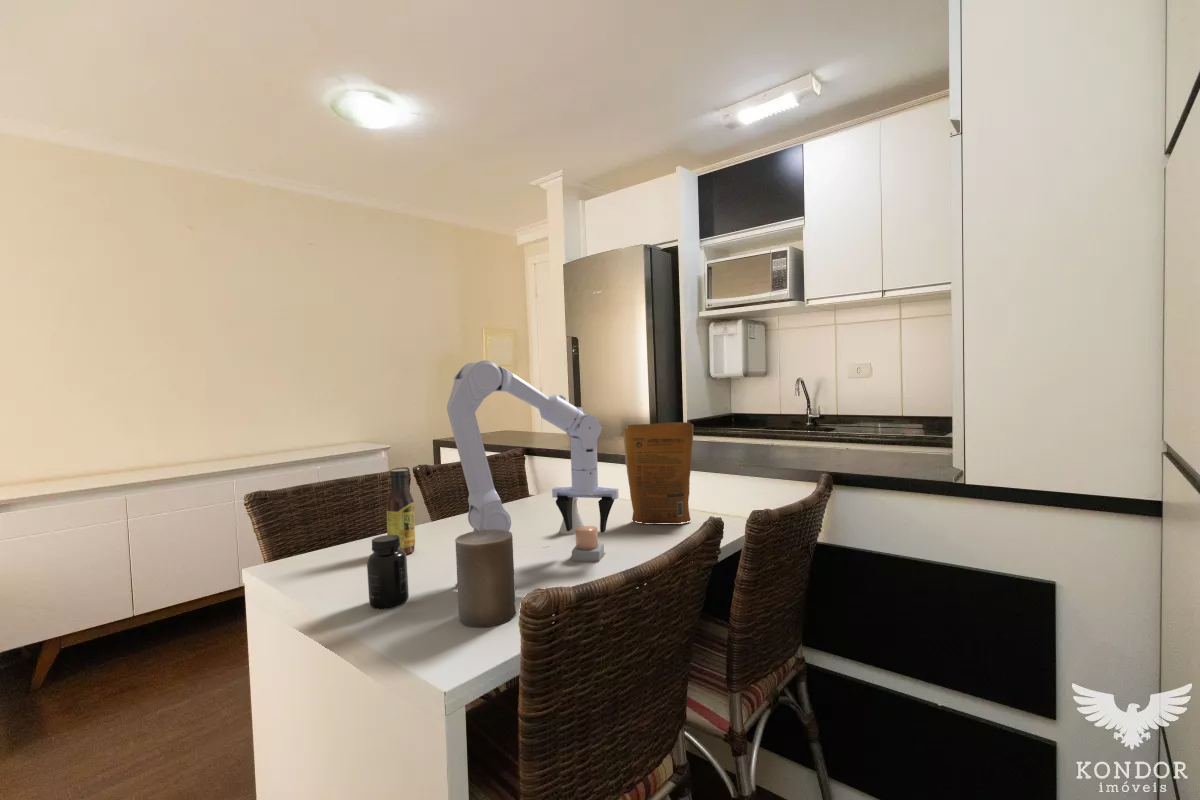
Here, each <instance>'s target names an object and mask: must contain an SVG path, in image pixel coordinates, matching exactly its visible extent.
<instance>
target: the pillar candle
mask: <svg viewBox="0 0 1200 800" xmlns="http://www.w3.org/2000/svg"><path fill="white" fill-rule="evenodd" d="M513 540H514V539H513V533H512V532H511V531H510V530H509V531H506V530H498V529H492V530H485V529H484V530H480V531H474V532H473V531H470V532H466V533H464V534H460V535H459V536H457V537H456V539H455V540H454V541H455V557H456V558H455V560H456V581H457V583H456V584H457V585H456V586H457V603H458V604H457V606H458V609H457V610H458V620H459V622H460V623H461V624H463V625H464V626H468V627H475V628H476V627H477V628H481V627H482V628H483V627H491V626H498V625H501V624H504V623H506V622H508V621H510V620H512V619H513V618H514V616H516V615H517V611H516V590H515V587H516V586H515V567H514V566H515V565H514V564H515V563H514V543H513Z"/></svg>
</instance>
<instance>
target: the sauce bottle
mask: <svg viewBox="0 0 1200 800" xmlns="http://www.w3.org/2000/svg"><path fill="white" fill-rule="evenodd" d="M408 477H409V469H407V468H401V469H392V470H390V478H391V490H390V492H389V494H388V495H387V498H386V535H397V536H399V537H400V547H399V549H401V550H403V551H404V552H405V553H406V555H408V554H411V553H414V552H415V546H416V531H415V530H416V524H415V500H414V498H413V496H412V493H411V491H410V488H409V479H408Z"/></svg>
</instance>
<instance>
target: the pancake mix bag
mask: <svg viewBox="0 0 1200 800" xmlns="http://www.w3.org/2000/svg"><path fill="white" fill-rule="evenodd" d="M622 433H623V436H622V437H623V438H622V439H623V445H624V458H625V459H624V460H625V465H626V474H627V478H628V480H627V481H628V486H629V493H630V496H629V497H630V501H631V507H632V511H633V512H632V518H631V521H632V520H633V521H637V522H642V523H681V522H687V521H690V520H691V521H692V519H691V515H690V510H689V509H690V507H689V499H690V498H689V497H690V478H691V470H692V463H693V462H692V461H693V444H694V424H693V423H690V422H688V421H687V422H686V421H685V422H684V421H683V422H681V421H680V422H679V421H678V422H659V423H656V422H655V423H648V424H647V423H645V424H643V423H642V424H639V423H638V424H627V428H623V432H622ZM633 521H632V522H633Z"/></svg>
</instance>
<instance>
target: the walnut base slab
mask: <svg viewBox="0 0 1200 800" xmlns="http://www.w3.org/2000/svg"><path fill="white" fill-rule="evenodd" d="M606 554H607V553H606V552H604V553H603V555H602V557H601V559H600V561H601V560H602V559H603V558H604V557H605V556H606ZM566 561H567V562H573V561H572V555H571V556H570V557H569V558H568V559H567V560H566ZM600 561H578V562H581V563H583V562H584V563H597V564H599V562H600Z"/></svg>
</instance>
